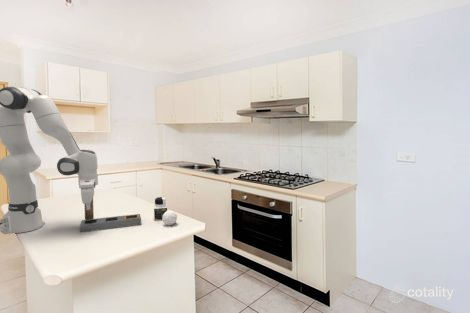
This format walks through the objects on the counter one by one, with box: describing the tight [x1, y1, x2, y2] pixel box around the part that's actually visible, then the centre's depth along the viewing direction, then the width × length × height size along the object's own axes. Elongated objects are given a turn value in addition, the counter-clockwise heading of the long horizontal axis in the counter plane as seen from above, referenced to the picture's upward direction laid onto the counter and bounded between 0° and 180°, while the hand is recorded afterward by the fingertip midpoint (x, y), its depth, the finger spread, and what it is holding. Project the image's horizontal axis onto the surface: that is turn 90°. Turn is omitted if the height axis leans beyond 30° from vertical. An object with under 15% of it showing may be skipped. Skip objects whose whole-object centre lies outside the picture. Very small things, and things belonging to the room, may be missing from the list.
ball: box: [161, 210, 178, 226], centre depth 153 cm, size 8×8×8 cm
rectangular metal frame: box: [79, 213, 142, 233], centre depth 152 cm, size 29×9×4 cm, turn 112°
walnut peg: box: [84, 196, 95, 220], centre depth 147 cm, size 4×4×12 cm
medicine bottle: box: [153, 196, 168, 221], centre depth 164 cm, size 7×7×12 cm
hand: (88, 208), depth 147 cm, fingers closed on walnut peg, 4 cm apart
